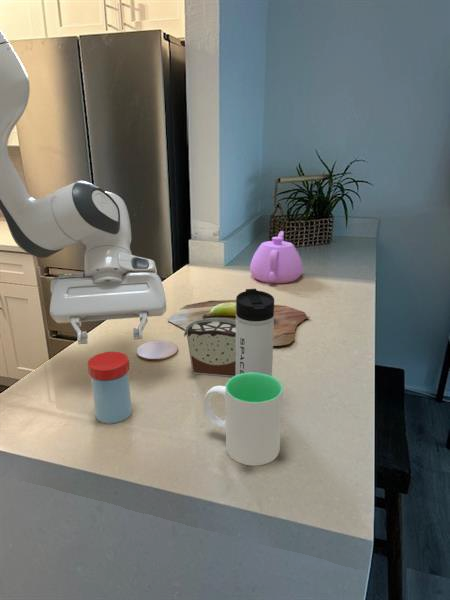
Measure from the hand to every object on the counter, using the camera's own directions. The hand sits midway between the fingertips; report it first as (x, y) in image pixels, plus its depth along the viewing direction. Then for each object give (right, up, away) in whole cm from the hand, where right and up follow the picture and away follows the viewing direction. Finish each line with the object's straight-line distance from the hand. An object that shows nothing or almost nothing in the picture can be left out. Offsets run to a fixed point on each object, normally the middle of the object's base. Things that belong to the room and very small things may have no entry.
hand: (110, 340), depth 75 cm
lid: (+1, -3, -5) cm, 6 cm away
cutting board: (+23, +2, +36) cm, 43 cm away
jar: (+1, -12, -2) cm, 12 cm away
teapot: (+38, +15, +73) cm, 83 cm away
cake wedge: (+19, -7, +12) cm, 23 cm away
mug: (+22, -15, -10) cm, 28 cm away
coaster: (+5, -4, +20) cm, 21 cm away
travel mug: (+25, -11, +1) cm, 27 cm away
